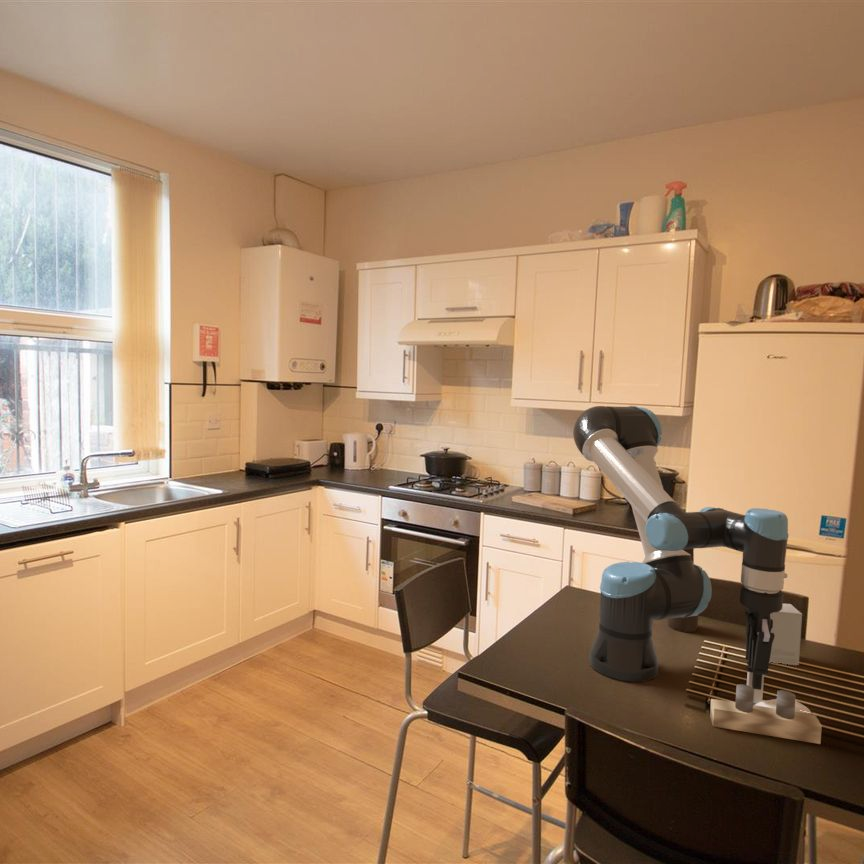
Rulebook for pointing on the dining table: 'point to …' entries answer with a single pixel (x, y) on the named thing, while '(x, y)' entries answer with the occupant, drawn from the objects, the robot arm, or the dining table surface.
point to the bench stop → (765, 716)
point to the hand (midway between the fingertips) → (753, 701)
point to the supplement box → (786, 635)
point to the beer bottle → (688, 622)
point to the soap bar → (773, 702)
